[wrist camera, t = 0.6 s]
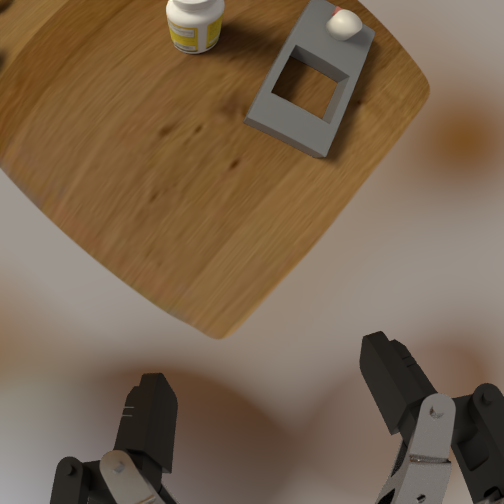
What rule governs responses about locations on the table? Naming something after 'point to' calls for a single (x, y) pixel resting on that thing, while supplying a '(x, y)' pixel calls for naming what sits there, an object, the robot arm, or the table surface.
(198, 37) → the supplement bottle
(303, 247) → the table surface
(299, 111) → the grey square-hole tray
